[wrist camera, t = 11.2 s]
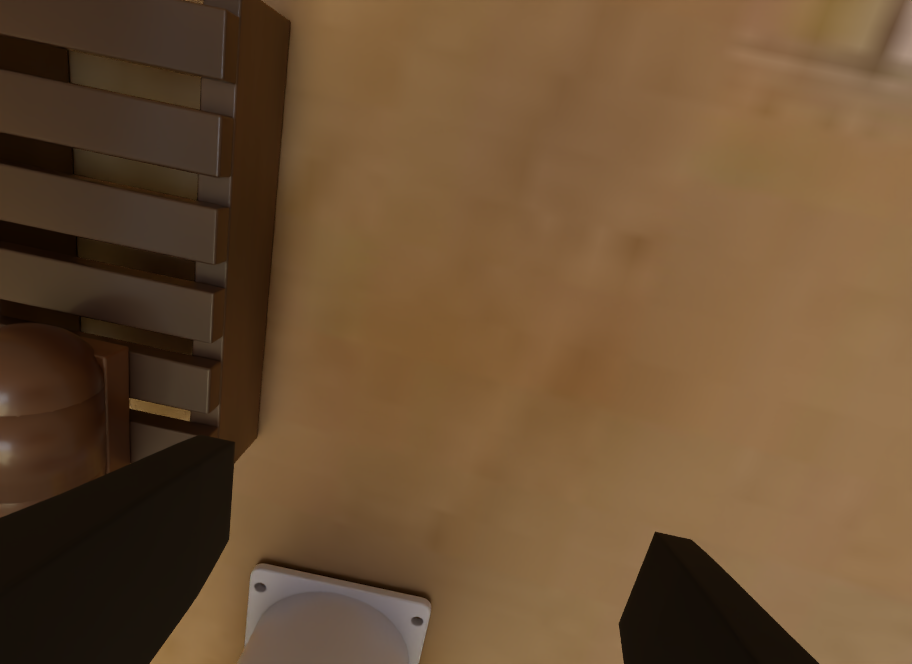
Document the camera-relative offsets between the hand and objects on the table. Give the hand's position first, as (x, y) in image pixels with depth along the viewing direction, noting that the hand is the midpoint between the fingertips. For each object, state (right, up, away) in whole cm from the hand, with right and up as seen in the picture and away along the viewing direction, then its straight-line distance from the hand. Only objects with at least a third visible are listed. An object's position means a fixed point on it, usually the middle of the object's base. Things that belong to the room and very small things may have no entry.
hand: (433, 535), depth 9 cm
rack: (-10, +7, +9) cm, 16 cm away
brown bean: (-11, +1, +7) cm, 14 cm away
